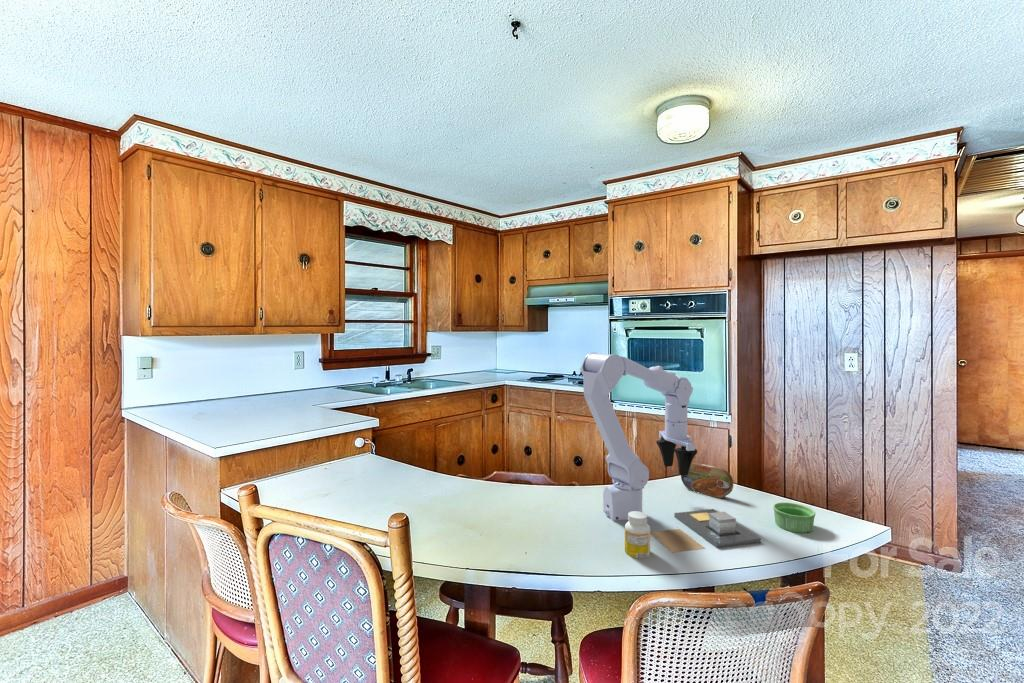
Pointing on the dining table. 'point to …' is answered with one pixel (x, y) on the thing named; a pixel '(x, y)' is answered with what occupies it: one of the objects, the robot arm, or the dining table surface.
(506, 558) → the dining table surface
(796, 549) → the dining table surface
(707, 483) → the tin
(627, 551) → the supplement bottle
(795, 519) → the ramekin
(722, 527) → the steel peg
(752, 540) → the rack plate
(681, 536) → the pad
